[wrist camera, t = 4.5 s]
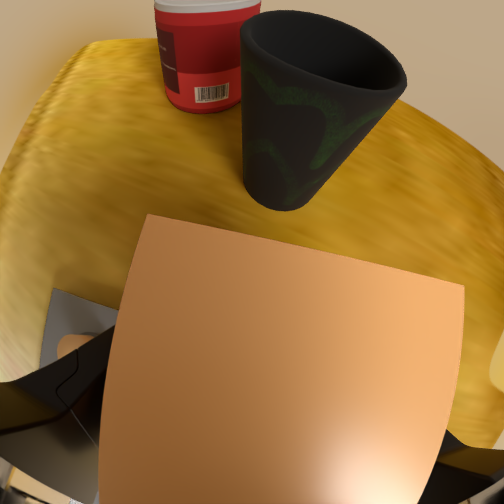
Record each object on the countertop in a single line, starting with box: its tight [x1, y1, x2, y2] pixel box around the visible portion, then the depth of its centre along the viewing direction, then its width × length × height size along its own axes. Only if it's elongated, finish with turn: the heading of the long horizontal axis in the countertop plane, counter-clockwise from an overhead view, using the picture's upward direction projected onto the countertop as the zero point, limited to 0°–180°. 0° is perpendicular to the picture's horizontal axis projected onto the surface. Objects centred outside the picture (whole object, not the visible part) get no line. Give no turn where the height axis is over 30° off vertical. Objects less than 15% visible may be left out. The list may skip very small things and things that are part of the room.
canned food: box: [154, 0, 261, 114], centre depth 17 cm, size 8×8×11 cm
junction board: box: [39, 288, 119, 504], centre depth 11 cm, size 16×9×4 cm, turn 169°
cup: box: [240, 10, 407, 211], centre depth 14 cm, size 8×8×12 cm
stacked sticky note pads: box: [98, 214, 464, 504], centre depth 9 cm, size 7×7×13 cm
